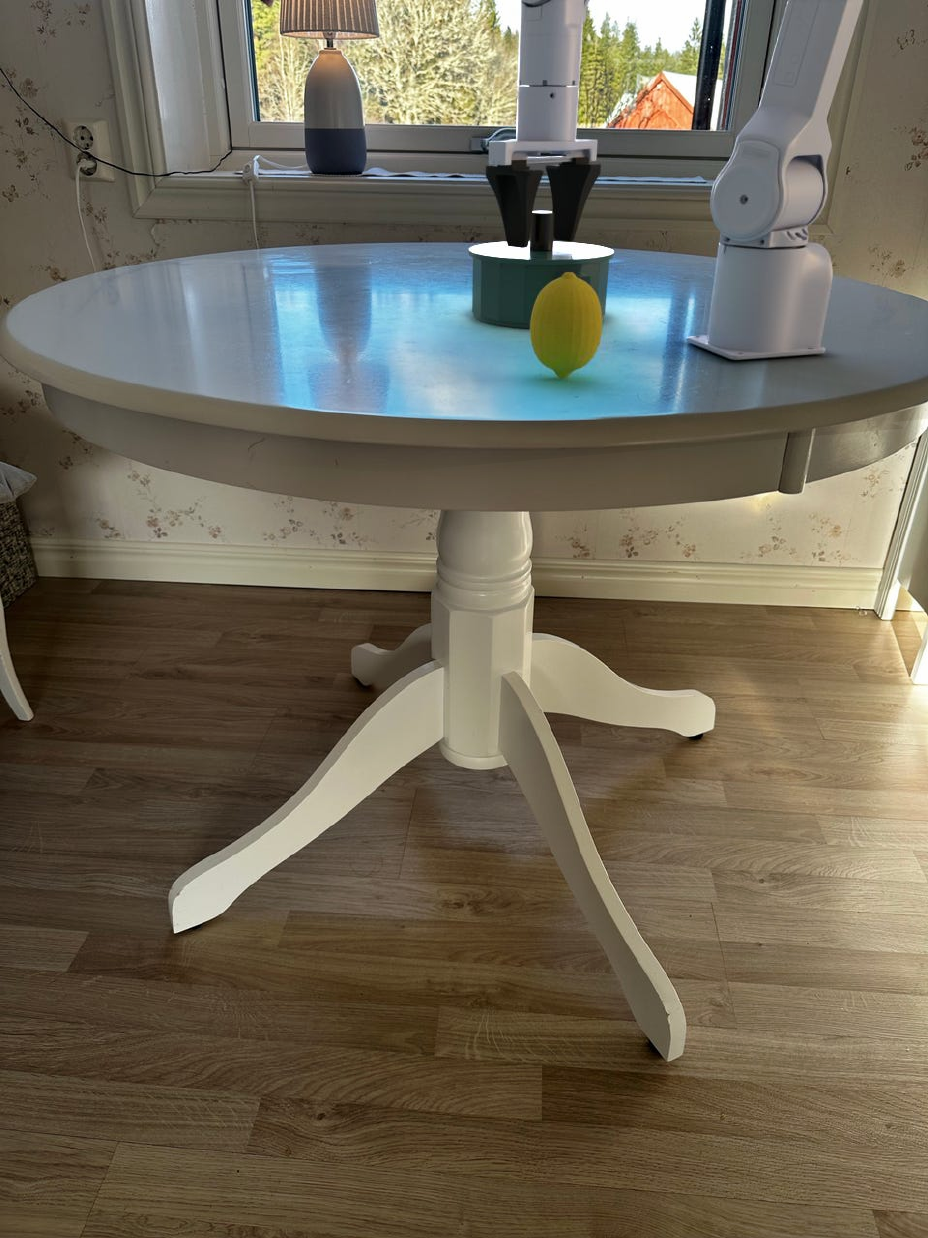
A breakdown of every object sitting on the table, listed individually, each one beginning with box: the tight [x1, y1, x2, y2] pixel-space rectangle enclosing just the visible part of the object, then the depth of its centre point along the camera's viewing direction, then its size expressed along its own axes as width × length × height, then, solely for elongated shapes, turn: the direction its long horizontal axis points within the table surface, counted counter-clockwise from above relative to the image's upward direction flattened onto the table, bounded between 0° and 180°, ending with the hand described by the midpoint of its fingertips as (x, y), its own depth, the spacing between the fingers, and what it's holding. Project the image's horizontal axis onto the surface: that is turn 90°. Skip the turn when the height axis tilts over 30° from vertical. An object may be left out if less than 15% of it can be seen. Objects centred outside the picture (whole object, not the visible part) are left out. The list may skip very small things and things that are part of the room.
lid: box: [468, 210, 615, 265], centre depth 92 cm, size 15×15×5 cm
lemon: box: [529, 272, 603, 380], centre depth 71 cm, size 6×6×8 cm
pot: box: [471, 257, 610, 329], centre depth 94 cm, size 14×19×6 cm
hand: (541, 243), depth 93 cm, fingers open, 7 cm apart
